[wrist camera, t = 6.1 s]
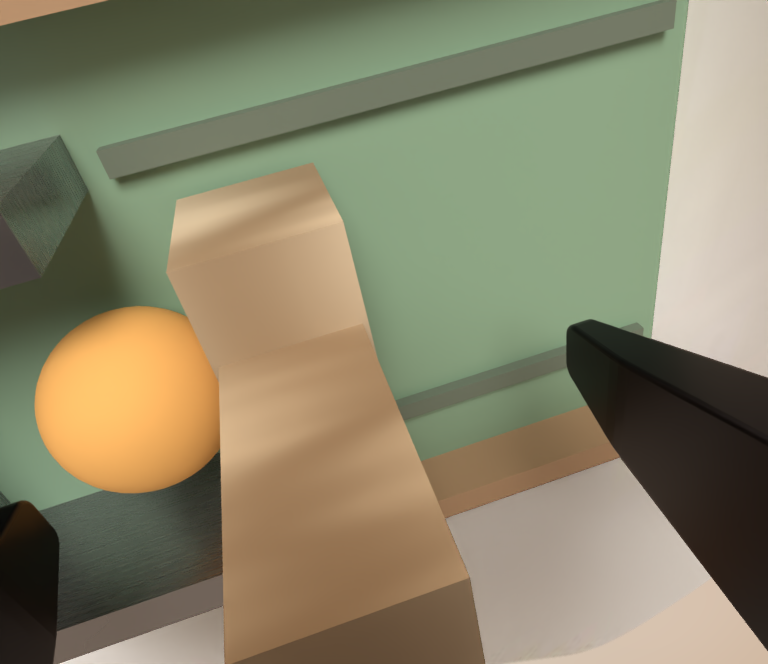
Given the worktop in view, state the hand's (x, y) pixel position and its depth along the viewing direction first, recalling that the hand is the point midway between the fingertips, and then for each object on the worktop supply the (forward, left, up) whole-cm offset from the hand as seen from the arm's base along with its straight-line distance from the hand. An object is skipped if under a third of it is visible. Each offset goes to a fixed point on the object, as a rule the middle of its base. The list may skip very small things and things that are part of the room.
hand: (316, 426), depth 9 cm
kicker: (0, 0, -4) cm, 4 cm away
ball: (+3, 0, -2) cm, 4 cm away
